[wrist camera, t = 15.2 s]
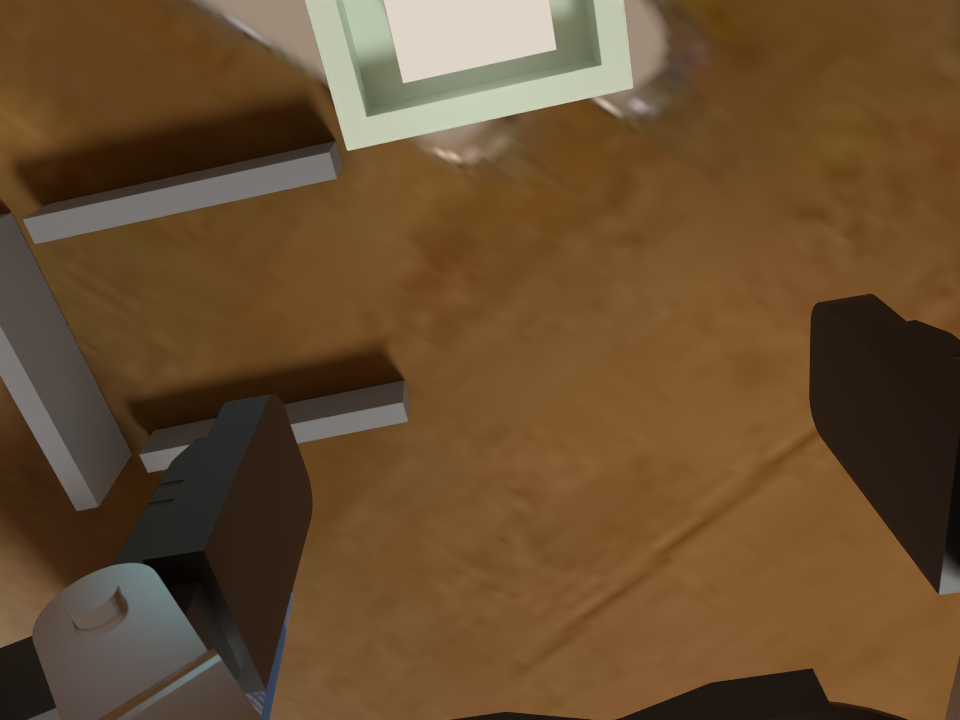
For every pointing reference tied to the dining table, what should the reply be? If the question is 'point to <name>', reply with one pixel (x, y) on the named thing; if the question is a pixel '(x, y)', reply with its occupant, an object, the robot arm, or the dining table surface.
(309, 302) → the dining table surface
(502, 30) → the cream rectangular block
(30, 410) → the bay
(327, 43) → the tray
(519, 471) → the dining table surface
